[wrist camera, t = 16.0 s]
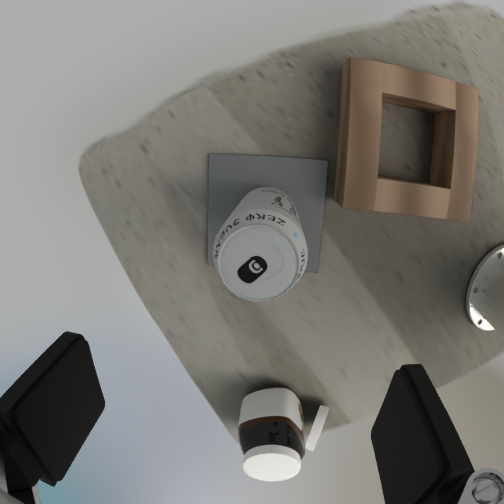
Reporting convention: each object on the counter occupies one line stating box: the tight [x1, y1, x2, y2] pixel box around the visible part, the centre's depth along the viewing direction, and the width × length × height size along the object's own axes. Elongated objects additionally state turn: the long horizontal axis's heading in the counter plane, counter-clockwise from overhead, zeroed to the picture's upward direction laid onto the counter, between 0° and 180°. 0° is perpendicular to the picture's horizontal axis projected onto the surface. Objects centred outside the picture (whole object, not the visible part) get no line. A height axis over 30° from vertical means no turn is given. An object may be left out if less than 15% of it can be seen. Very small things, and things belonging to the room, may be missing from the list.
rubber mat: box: [208, 154, 328, 273], centre depth 33 cm, size 12×12×1 cm
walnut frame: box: [334, 57, 479, 223], centre depth 27 cm, size 14×14×5 cm
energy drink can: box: [213, 187, 308, 302], centre depth 26 cm, size 6×6×15 cm
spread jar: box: [238, 386, 329, 481], centre depth 36 cm, size 12×11×12 cm
